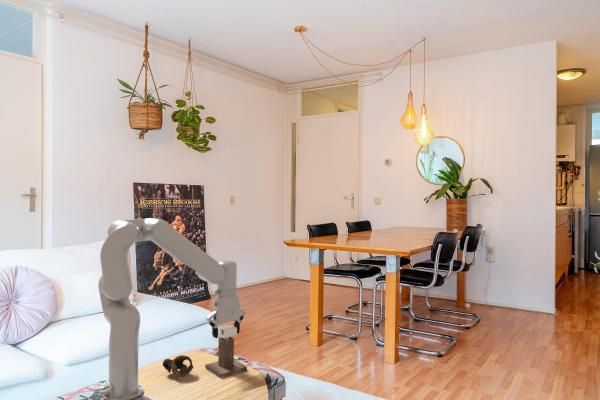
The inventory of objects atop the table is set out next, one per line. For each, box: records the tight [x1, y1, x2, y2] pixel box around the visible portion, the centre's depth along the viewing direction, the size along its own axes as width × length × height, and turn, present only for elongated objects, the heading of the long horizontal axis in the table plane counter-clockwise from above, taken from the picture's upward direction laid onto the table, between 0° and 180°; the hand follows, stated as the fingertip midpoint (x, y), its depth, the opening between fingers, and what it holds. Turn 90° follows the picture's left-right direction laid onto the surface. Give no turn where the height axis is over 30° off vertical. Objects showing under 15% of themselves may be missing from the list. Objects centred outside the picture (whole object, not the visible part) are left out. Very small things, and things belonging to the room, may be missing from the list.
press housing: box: [204, 336, 248, 379], centre depth 175 cm, size 12×12×12 cm
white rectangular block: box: [217, 323, 238, 340], centre depth 175 cm, size 6×6×15 cm
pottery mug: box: [162, 354, 195, 380], centre depth 169 cm, size 12×10×8 cm
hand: (226, 334), depth 175 cm, fingers open, 9 cm apart
